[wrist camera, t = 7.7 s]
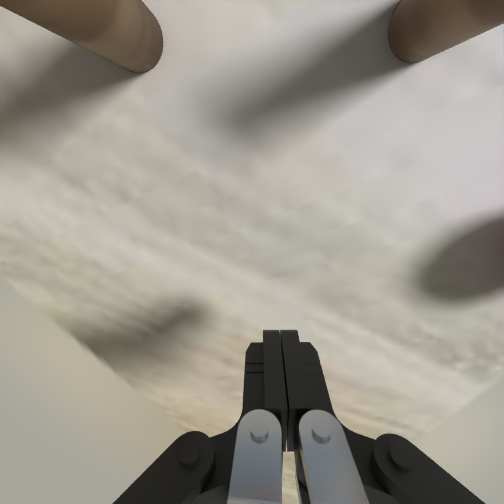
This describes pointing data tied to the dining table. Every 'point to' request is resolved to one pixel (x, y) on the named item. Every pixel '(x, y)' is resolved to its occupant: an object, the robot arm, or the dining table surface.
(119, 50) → the post
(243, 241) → the dining table surface
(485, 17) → the post
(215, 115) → the dining table surface
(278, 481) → the robot arm
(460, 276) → the dining table surface
